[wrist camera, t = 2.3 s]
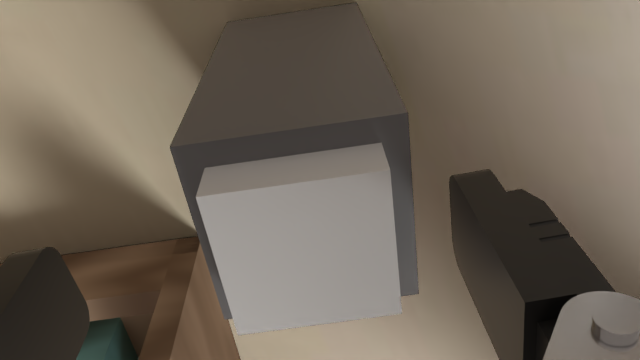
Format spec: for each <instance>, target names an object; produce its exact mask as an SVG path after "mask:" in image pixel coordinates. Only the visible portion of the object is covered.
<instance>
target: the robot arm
mask: <svg viewBox="0 0 640 360" xmlns="http://www.w3.org/2000/svg"><path fill="white" fill-rule="evenodd" d="M449 190H450V207H451V225H452V241H453V248H454V253H455V257H456V261H457V264H458V267H459V270H460V272H461V274H462V276H463V279H464V281H465V283H466V285H467V288H468V290H469V292H470V294H471V297H472V299H473V301H474V304H475V306H476V308H477V310H478V313H479V315H480V317H481V319H482V322H483V324H484V326H485V328H486V331H487V333H488V335H489V337H490V340H491V342H492V344H493V346H494V349H495V351H496V353H497V355H498V358H499V360H640V299H638V298H635V297H633V296H629V295H626V294H622V293H617V292H615V290H614V289H613V288H612V287H611V285H610V284H609V283H608V282H607V280H606V279H605V278H604V276H603V275H602V274H601V273H600V271H599V270H598V269H597V268H596V266H595V265H594V264H593V263H592V261H591V260H590V259H589V258H588V256H587V255H586V254H585V253H584V251H583V250H582V249H581V247H580V246H579V245H578V244H577V242H576V241H575V240H574V239H573V237H570V235H569V232H568V231H567V230H566V229H565V227H564V226H563V225H562V223H561V222H560V223H559V222H558V218H557V217H556V216H555V215H554V213H553V212H552V211H551V210H550V208H549V207H548V206H547V205H546V203H545V202H544V201H542V200H540V199H539V198H537V197H535V196H533V195H531V194H530V193H528V192H526V191H524V190H523V189H519V190H514V191H508V192H506V191H505V190H504V188H503V187H502V185H501V184H500V182H499V181H498V180H497V178H496V177H495V175H494V174H493V172H492V171H491V170H490V169H486V170H481V171H475V172H469V173H464V174H458V175H453V176H451V177H450V181H449ZM89 322H90V317H89V309H88V306H87V303H86V301H85V299H84V297H83V295H82V293H81V291H80V290H79V288H78V286H77V284H76V282H75V280H74V278H73V277H72V275H71V273H70V271H69V269H68V267H67V265H66V264H65V262H64V260H63V258H62V256H61V255H60V253H59V252H58V251H57V250H56V249H55V248H53V247H46V248H40V249H35V250H29V251H24V252H18V253H13V254H11V255H9V256H8V257H7V258H6V260H5V261H4V262H3V264H2V265H1V267H0V360H76V359H77V356H78V354H79V352H80V349H81V347H82V345H83V342H84V340H85V338H86V335H87V333H88V329H89Z"/></svg>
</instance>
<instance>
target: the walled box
mask: <svg viewBox="0 0 640 360" xmlns="http://www.w3.org/2000/svg"><path fill="white" fill-rule="evenodd" d="M61 256H62V258H63V260H64V262H65V264H66V265H67V267H68V269H69V271H70V273H71V275H72V277H73V278H74V280H75V282H76V284H77V286H78V288H79V290H80V291H81V293H82V295H83V297H84V299H85V301H86V303H87V306H88V309H89V317H90V322H89V329H88V333H87V335H86V338H85V340H84V342H83V345H82V347H81V349H80V352H79V354H78V356H77V359H76V360H240V356H239V353H238V350H237V347H236V344H235V340H234V337H233V334H232V331H231V328H230V324H229V321H228V319H226V320H224V316H223V313H222V310H221V307H220V304H219V301H218V298H217V294H216V291H215V288H214V285H213V282H212V279H211V275H210V272H209V269H208V266H207V263H206V260H205V257H204V253H203V250H202V247H201V244H200V241H199V238H198V236H197V237H190V238H183V239H175V240H168V241H161V242H154V243H146V244H139V245H132V246H125V247H117V248H110V249H103V250H96V251H88V252H81V253H74V254H67V255H61ZM2 264H3V263H2ZM2 264H0V267H1V265H2Z"/></svg>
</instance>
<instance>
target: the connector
mask: <svg viewBox="0 0 640 360" xmlns="http://www.w3.org/2000/svg"><path fill="white" fill-rule="evenodd" d="M170 150H171V153H172V156H173V159H174V162H175V165H176V168H177V172H178V175H179V178H180V181H181V184H182V187H183V191H184V194H185V197H186V200H187V203H188V206H189V209H190V213H191V216H192V219H193V222H194V225H195V228H196V231H197V235H198V238H199V241H200V244H201V247H202V250H203V253H204V257H205V260H206V263H207V266H208V269H209V272H210V275H211V279H212V282H213V285H214V288H215V291H216V294H217V298H218V301H219V304H220V307H221V310H222V313H223V316H224V320H226V319H233V321H234V324H235V327H236V331H237V334H238V335H245V334H252V333H260V332H268V331H275V330H283V329H290V328H298V327H306V326H313V325H321V324H329V323H336V322H344V321H351V320H359V319H367V318H374V317H382V316H390V315H397V314H402V306H401V296H407V295H415V294H419V290H418V273H417V256H416V239H415V222H414V205H413V188H412V172H411V155H410V138H409V121H408V112H407V109H406V107H405V105H404V103H403V101H402V99H401V97H400V95H399V92H398V90H397V88H396V86H395V84H394V82H393V80H392V78H391V75H390V73H389V71H388V69H387V67H386V65H385V63H384V60H383V58H382V56H381V54H380V52H379V50H378V48H377V46H376V43H375V41H374V39H373V37H372V35H371V33H370V31H369V29H368V26H367V24H366V22H365V20H364V18H363V16H362V14H361V12H360V9H359V7H358V5H357V3H350V4H343V5H336V6H330V7H323V8H317V9H310V10H304V11H297V12H291V13H284V14H277V15H271V16H264V17H258V18H251V19H245V20H238V21H232V22H227V24H226V26H225V28H224V30H223V32H222V34H221V37H220V39H219V41H218V43H217V45H216V48H215V50H214V52H213V54H212V56H211V58H210V61H209V63H208V65H207V67H206V69H205V71H204V74H203V76H202V78H201V80H200V82H199V85H198V87H197V89H196V91H195V93H194V95H193V98H192V100H191V102H190V104H189V106H188V108H187V111H186V113H185V115H184V117H183V119H182V121H181V124H180V126H179V128H178V130H177V132H176V135H175V137H174V139H173V141H172V143H171V145H170Z"/></svg>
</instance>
